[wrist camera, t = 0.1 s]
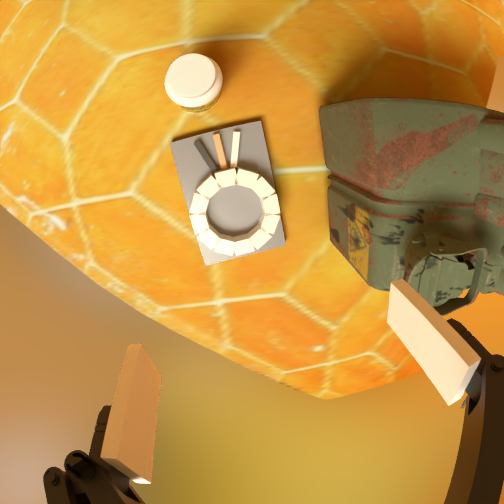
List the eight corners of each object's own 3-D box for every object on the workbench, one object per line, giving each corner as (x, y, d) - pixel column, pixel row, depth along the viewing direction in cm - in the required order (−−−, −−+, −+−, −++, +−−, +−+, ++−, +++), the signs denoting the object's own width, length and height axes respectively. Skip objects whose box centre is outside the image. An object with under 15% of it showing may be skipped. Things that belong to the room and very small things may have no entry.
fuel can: (308, 108, 35) (457, 89, 10) (470, 115, 36) (585, 139, 12) (321, 235, 43) (427, 358, 18) (469, 208, 45) (569, 264, 20)
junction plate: (171, 142, 34) (167, 143, 31) (259, 120, 35) (263, 119, 32) (205, 261, 42) (205, 272, 39) (283, 242, 42) (289, 250, 39)
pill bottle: (185, 120, 33) (172, 115, 23) (167, 82, 31) (149, 63, 21) (228, 101, 33) (233, 89, 23) (210, 62, 31) (209, 37, 21)
